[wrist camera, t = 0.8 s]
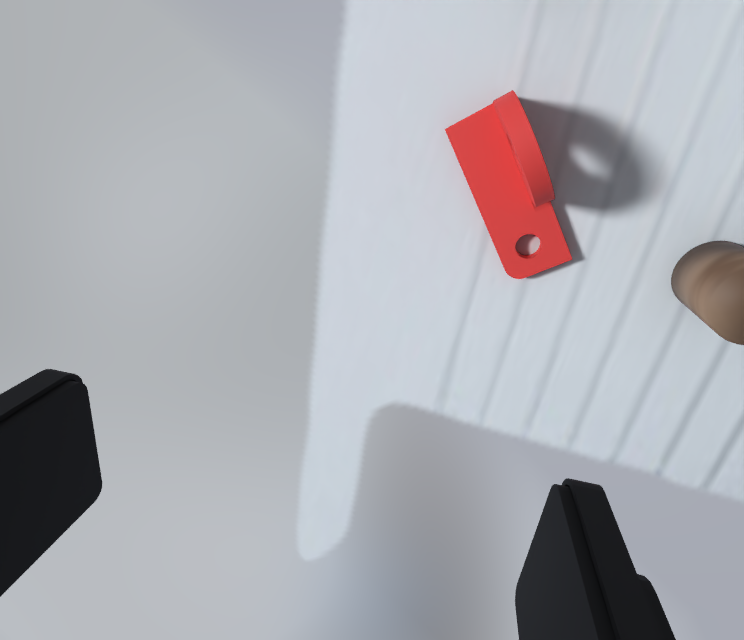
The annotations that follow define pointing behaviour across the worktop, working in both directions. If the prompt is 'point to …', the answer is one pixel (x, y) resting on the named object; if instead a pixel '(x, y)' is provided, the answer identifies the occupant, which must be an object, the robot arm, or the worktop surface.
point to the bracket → (510, 184)
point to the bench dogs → (714, 287)
